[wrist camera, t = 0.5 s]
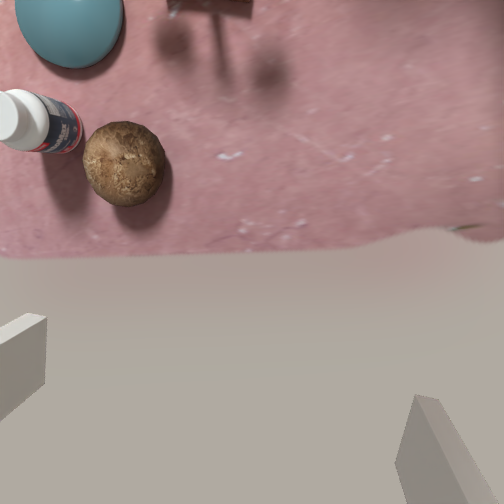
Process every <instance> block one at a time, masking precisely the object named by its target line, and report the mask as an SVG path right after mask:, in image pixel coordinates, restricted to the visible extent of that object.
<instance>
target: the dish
mask: <svg viewBox="0 0 504 504" xmlns="http://www.w3.org/2000/svg"><path fill="white" fill-rule="evenodd" d="M15 10H16V16H17V21H18V24H19V27H20V30H21V32H22V34H23V36H24V38H25V39H26V41H27V42H28V44H29V45H30V46H31V47H32V49H33V50H34V51H35V52H36V53H37V54H39V55H40V56H41V57H42V58H44V59H46V60H47V61H49V62H52V63H54V64H56V65H59V66H61V67H65V68H71V69H80V68H85V67H89V66H92V65H94V64H96V63H97V62H99V61H100V60H102V59H103V58H104V57H105V56H106V55H107V54H108V53H109V52H110V51H111V49H112V48H113V46H114V45H115V43H116V41H117V39H118V37H119V34H120V30H121V27H122V21H123V4H122V0H15Z"/></svg>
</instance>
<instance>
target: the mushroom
mask: <svg viewBox="0 0 504 504" xmlns="http://www.w3.org/2000/svg"><path fill="white" fill-rule="evenodd" d="M82 161H83V165H84V169H85V173H86V178H87V179H88V181H89V183H90V184H91V186H92V187H93V189H94V191H95V192H96V194H97V195H99V196H100V197H102V198H103V199H104V200H106V201H107V202H109V203H110V204H112V205H118V206H125V207H131V206H135V205H138V204H142V203H144V202H146V201H147V200H148V199H149V198H151V197H152V196H153V195H155V193H156V192H157V190H158V188H159V186H160V184H161V182H162V179H163V173H164V168H165V151H164V149H163V147H162V145H161V143H160V142H159V140H158V138H157V136H156V135H154V134H153V133H152V132H151V131H150V130H148V129H147V128H146V127H145V126H143V125H139V124H136V123H133V122H129V121H122V122H110V123H109V124H107V125H105V126H103V127H101V128H99V129H97V130H96V131H95V132H94V133H93V135H92V136H91V137H90V138H89V140H88V141H87V142H86V145H85V150H84V155H83V160H82Z"/></svg>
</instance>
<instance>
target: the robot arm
mask: <svg viewBox="0 0 504 504" xmlns="http://www.w3.org/2000/svg"><path fill="white" fill-rule="evenodd" d="M46 334H47V317H45V316H41V315H36V314H31V313H26V314H24V315H22V316H21V317H19V318H17V319H15V320H13V321H11V322H9V323H7V324H6V325H4V326H2V327H0V421H1V420H2V419H4V418H5V417H6V416H7V415H8V414H10V413H11V412H12V411H13V410H14V409H15V408H17V407H18V406H19V405H20V404H21V403H23V402H24V401H25V400H26V399H27V398H28V397H30V396H31V395H32V394H33V393H34V392H36V391H37V390H38V389H39V388H40V387H41V386H43V385H44V384H45V362H46V336H47V335H46ZM395 465H396V469H397V472H398V475H399V478H400V482H401V485H402V488H403V491H404V495H405V498H406V501H407V504H499V503H498V501H497V499H496V498H495V496H494V494H493V493H492V491H491V489H490V487H489V486H488V484H487V482H486V480H485V479H484V477H483V475H482V474H481V472H480V470H479V468H478V467H477V465H476V463H475V461H474V460H473V458H472V456H471V455H470V453H469V451H468V449H467V448H466V446H465V445H464V443H463V441H462V439H461V437H460V436H459V434H458V432H457V430H456V429H455V427H454V425H453V424H452V422H451V420H450V418H449V417H448V415H447V413H446V412H445V410H444V408H443V406H442V405H441V403H440V401H439V400H438V399H434V398H429V397H424V396H420V395H415V396H414V400H413V403H412V406H411V410H410V413H409V417H408V421H407V424H406V427H405V430H404V434H403V437H402V441H401V444H400V448H399V451H398V454H397V458H396V461H395Z"/></svg>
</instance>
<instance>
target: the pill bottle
mask: <svg viewBox="0 0 504 504" xmlns="http://www.w3.org/2000/svg"><path fill="white" fill-rule="evenodd" d="M81 136H82V123H81V120H80V117H79V115H78V114H77V112H76V111H75V110H74V109H73V108H72V107H71V106H70V105H68V104H67V103H65V102H62V101H59V100H56V99H53V98H49V97H46V96H43V95H39V94H36V93H32V92H29V91H25V90H20V89H13V90H8V91H6V92H2V91H0V141H2V142H3V143H4V144H5V145H7V146H8V147H10V148H13V149H15V150H20V151H28V152H43V153H56V154H63V153H67V152H69V151H71V150H73V149H74V148H75V147H76V146H77V145H78V143H79V142H80V139H81Z"/></svg>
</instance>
